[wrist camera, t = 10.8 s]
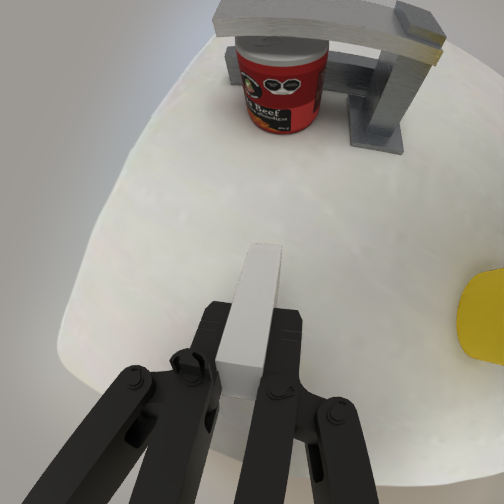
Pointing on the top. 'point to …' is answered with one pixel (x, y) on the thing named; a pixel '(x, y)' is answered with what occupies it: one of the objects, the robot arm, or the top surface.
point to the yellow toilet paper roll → (483, 317)
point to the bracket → (348, 65)
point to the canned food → (282, 80)
